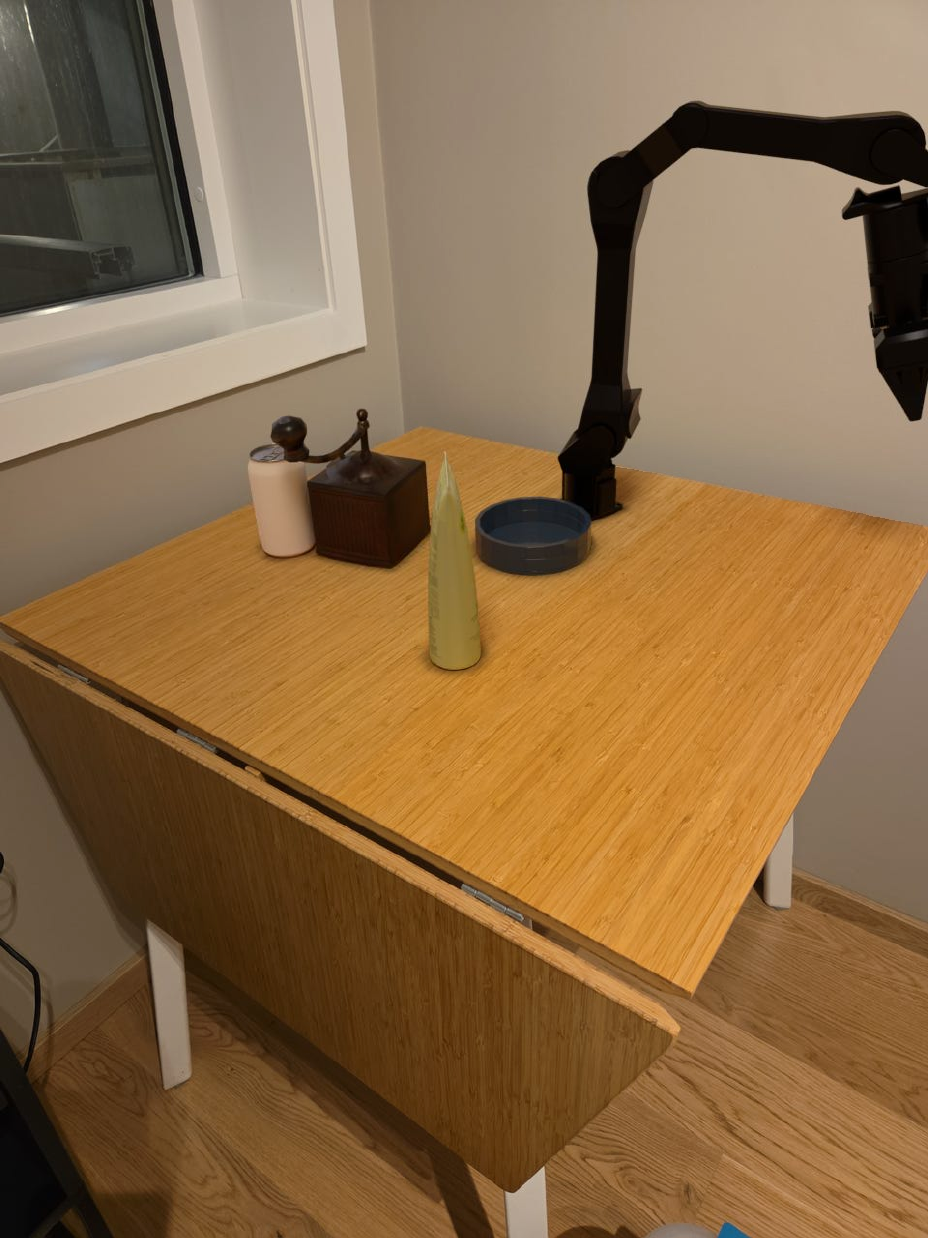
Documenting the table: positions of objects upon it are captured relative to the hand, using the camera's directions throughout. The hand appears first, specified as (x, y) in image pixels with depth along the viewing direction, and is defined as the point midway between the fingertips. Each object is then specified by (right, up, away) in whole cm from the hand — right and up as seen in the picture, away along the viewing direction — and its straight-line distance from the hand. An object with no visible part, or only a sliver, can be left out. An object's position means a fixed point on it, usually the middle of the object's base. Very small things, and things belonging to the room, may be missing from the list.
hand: (912, 405), depth 95 cm
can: (-68, -14, +13) cm, 71 cm away
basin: (-39, -14, +10) cm, 43 cm away
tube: (-48, -26, -9) cm, 56 cm away
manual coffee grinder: (-59, -15, +11) cm, 62 cm away
